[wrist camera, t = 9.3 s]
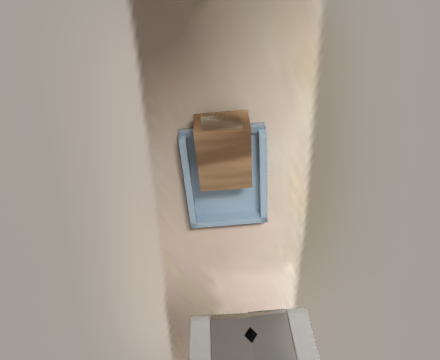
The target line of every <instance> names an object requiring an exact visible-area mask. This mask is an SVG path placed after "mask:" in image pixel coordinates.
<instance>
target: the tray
mask: <svg viewBox="0 0 440 360" xmlns="http://www.w3.org/2000/svg"><path fill="white" fill-rule="evenodd" d="M250 126H251V147H252V188H240V189H228V190H216V191H203V192H201V189H200V181H199V174H198V166H197V158H196V151H195V143H194V135H193V128H190V129H179V132H178V134H179V140H178V141H179V148H180V155H181V162H182V169H183V176H184V183H185V190H186V197H187V204H188V211H189V218H190V225H191V228H203V227H215V226H227V225H240V224H252V223H264V222H267V150H266V130H265V124H264V122H263V123H251V124H250Z"/></svg>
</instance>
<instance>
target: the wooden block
mask: <svg viewBox="0 0 440 360" xmlns="http://www.w3.org/2000/svg"><path fill="white" fill-rule="evenodd" d="M193 135H194V143H195V151H196V158H197V166H198V174H199V181H200V189H201V192H203V191H216V190H228V189H240V188H252V147H251V126H250V121H249V116H248V111H247V110H239V111H227V112H215V113H203V114H193Z"/></svg>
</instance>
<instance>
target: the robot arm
mask: <svg viewBox="0 0 440 360" xmlns="http://www.w3.org/2000/svg"><path fill="white" fill-rule="evenodd" d="M189 360H320V357H319V353H318V349H317V345H316V342H315V338H314V335H313V331H312V327H311V323H310V320H309V316H308V312H307V310H306V309H305V308H294V309H286V310H285V309H277V310H267V311H256V312H248V313H241V314H222V315H211V316H210V315H204V316H191V319H190V334H189Z"/></svg>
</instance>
